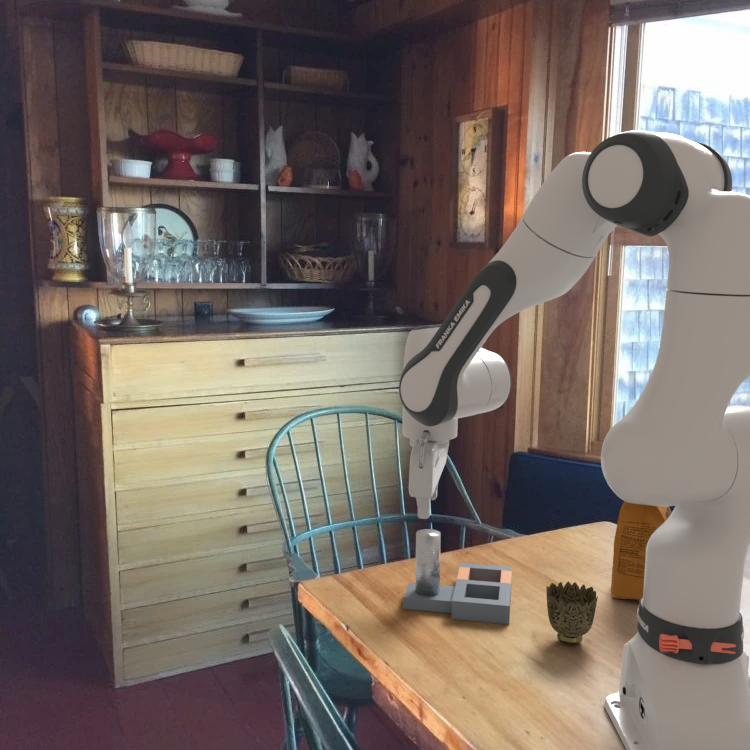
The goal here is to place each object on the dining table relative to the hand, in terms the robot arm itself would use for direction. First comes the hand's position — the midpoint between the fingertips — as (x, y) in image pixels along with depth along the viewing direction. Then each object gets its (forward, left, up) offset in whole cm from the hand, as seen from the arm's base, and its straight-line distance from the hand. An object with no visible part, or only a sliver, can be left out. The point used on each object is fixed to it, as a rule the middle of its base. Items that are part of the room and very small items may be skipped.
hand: (427, 507), depth 129 cm
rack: (+3, -5, -16) cm, 17 cm away
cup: (-9, -23, -16) cm, 30 cm away
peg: (0, 0, -14) cm, 14 cm away
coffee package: (+12, -36, -17) cm, 41 cm away
